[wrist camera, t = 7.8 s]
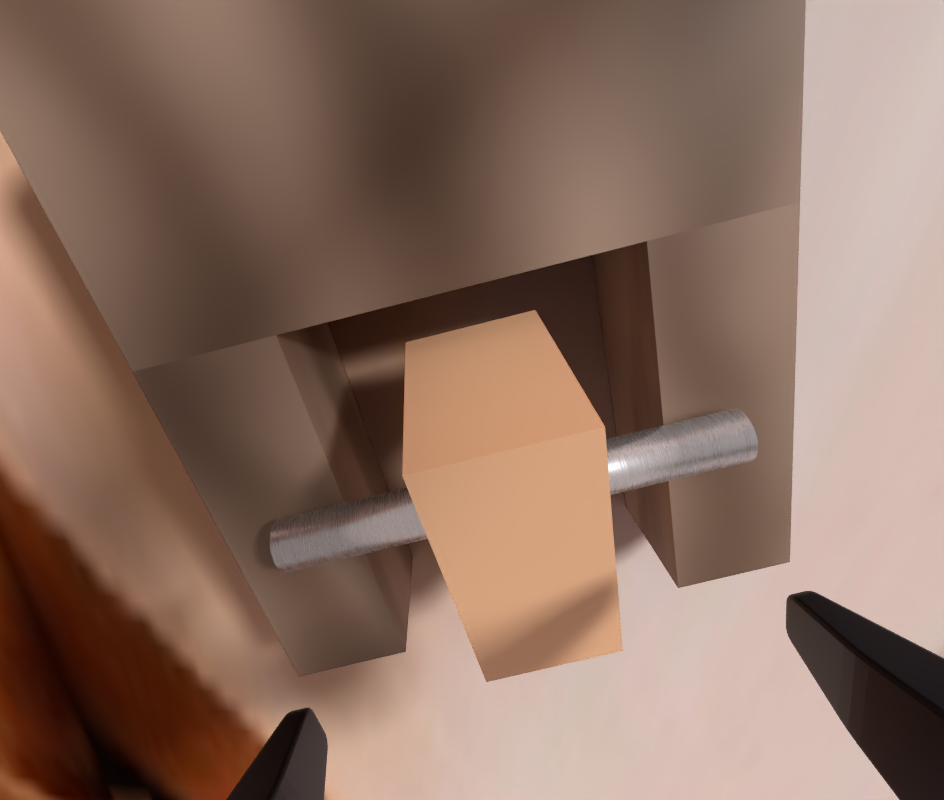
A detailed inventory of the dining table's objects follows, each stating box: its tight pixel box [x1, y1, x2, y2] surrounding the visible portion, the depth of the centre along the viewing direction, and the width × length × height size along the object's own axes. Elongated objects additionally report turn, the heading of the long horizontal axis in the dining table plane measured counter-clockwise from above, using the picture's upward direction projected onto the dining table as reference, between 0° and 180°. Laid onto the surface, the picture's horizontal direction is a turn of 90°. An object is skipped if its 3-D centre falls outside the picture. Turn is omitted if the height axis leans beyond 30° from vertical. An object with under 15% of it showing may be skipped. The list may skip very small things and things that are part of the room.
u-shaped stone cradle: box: [0, 0, 805, 676], centre depth 15 cm, size 18×20×5 cm
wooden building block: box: [402, 310, 623, 682], centre depth 14 cm, size 4×8×6 cm, turn 14°
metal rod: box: [270, 408, 758, 573], centre depth 14 cm, size 14×2×2 cm, turn 103°
